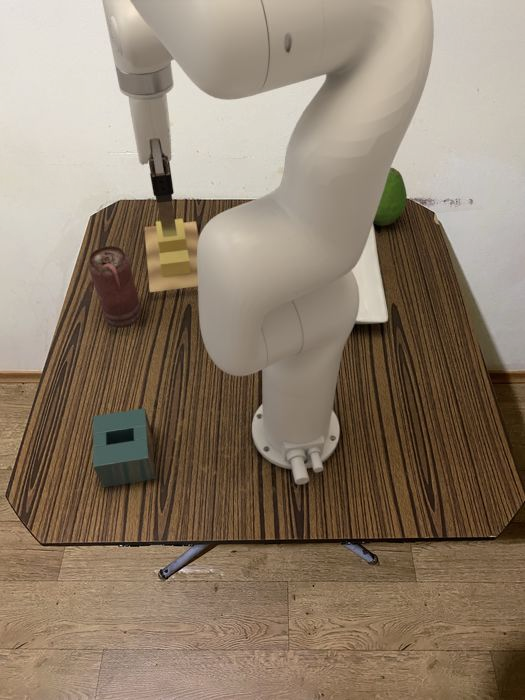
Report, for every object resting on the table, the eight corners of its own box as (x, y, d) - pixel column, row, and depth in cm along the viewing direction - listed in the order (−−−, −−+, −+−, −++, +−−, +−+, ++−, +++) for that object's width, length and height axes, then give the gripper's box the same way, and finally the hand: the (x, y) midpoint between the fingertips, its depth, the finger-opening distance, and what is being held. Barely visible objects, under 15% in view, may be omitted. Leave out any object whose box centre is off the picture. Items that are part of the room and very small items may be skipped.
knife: (178, 239, 101) (167, 163, 89) (163, 241, 100) (150, 165, 89) (177, 230, 102) (165, 155, 90) (162, 232, 102) (149, 156, 90)
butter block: (187, 251, 106) (185, 238, 104) (160, 254, 106) (157, 242, 103) (184, 231, 110) (182, 218, 108) (158, 234, 109) (155, 221, 107)
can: (119, 340, 95) (100, 277, 84) (100, 318, 98) (79, 255, 87) (150, 322, 97) (136, 259, 86) (130, 301, 100) (114, 238, 89)
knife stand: (155, 479, 79) (148, 457, 74) (103, 487, 78) (92, 466, 73) (151, 431, 84) (144, 408, 79) (102, 438, 83) (93, 415, 78)
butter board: (207, 290, 102) (207, 284, 101) (150, 298, 101) (149, 292, 99) (196, 227, 113) (195, 221, 112) (145, 233, 112) (144, 227, 111)
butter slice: (190, 273, 102) (189, 260, 100) (162, 277, 102) (160, 264, 100) (189, 262, 104) (187, 249, 102) (161, 265, 104) (159, 253, 101)
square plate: (386, 336, 95) (390, 320, 92) (220, 334, 95) (219, 318, 92) (370, 231, 112) (373, 214, 109) (229, 229, 112) (229, 213, 109)
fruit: (382, 239, 110) (393, 186, 101) (352, 220, 114) (359, 167, 105) (408, 222, 114) (421, 169, 104) (378, 204, 117) (388, 151, 108)
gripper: (116, 51, 84) (137, 163, 98) (119, 107, 74) (142, 222, 88) (167, 47, 85) (181, 158, 99) (177, 101, 75) (191, 216, 89)
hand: (163, 187), depth 93 cm, fingers closed on knife, 2 cm apart
